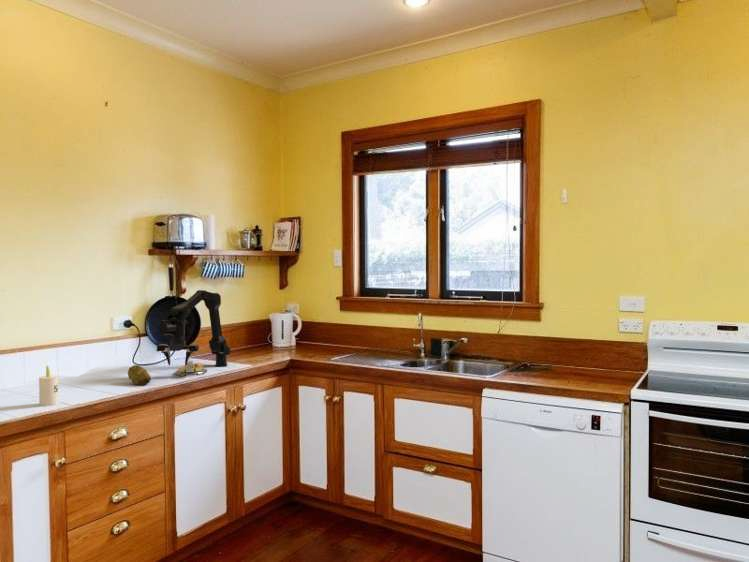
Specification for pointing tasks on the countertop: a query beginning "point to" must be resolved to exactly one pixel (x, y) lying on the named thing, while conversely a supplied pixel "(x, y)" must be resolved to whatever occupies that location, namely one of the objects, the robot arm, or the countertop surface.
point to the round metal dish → (190, 372)
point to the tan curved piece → (191, 367)
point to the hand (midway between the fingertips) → (177, 365)
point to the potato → (139, 375)
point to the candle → (48, 389)
